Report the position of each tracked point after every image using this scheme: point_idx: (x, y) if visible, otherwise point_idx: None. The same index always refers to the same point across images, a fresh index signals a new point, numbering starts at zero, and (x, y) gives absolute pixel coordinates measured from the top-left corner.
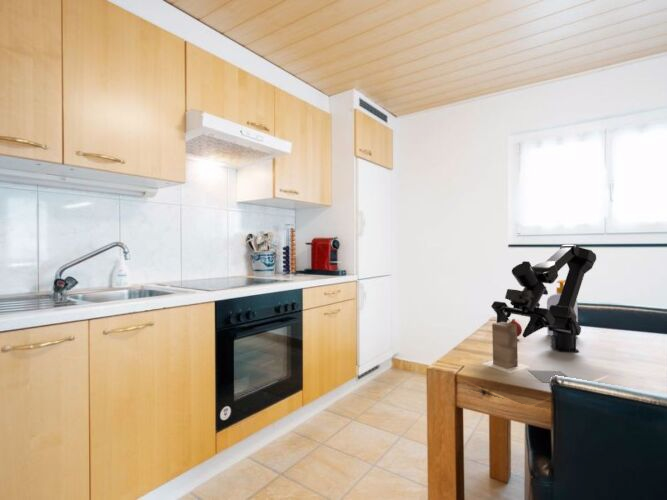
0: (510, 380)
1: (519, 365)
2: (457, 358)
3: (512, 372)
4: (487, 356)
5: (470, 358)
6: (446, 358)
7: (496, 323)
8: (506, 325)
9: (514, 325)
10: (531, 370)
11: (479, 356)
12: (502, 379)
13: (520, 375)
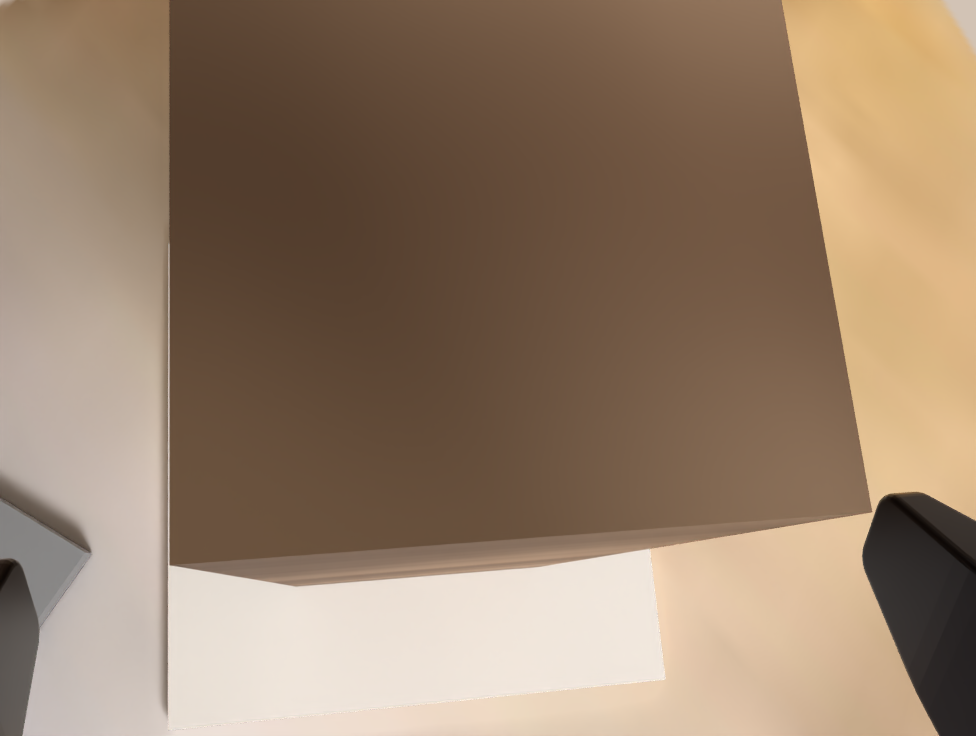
0: (43, 102)
1: (297, 631)
2: (909, 173)
3: (168, 300)
4: (835, 593)
5: (851, 313)
6: (954, 65)
7: (725, 58)
8: (310, 76)
9: (174, 391)
10: (55, 591)
11: (875, 487)
12: (118, 53)
13: (76, 346)
